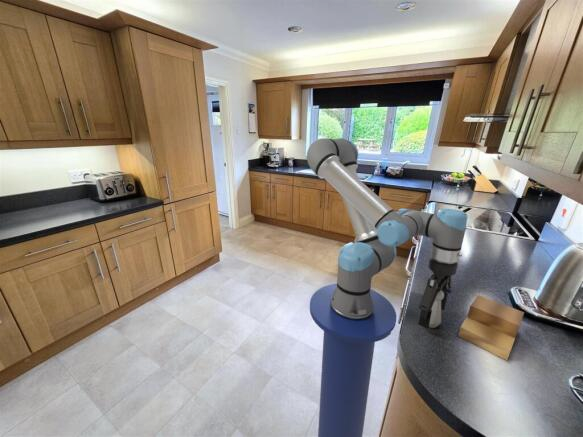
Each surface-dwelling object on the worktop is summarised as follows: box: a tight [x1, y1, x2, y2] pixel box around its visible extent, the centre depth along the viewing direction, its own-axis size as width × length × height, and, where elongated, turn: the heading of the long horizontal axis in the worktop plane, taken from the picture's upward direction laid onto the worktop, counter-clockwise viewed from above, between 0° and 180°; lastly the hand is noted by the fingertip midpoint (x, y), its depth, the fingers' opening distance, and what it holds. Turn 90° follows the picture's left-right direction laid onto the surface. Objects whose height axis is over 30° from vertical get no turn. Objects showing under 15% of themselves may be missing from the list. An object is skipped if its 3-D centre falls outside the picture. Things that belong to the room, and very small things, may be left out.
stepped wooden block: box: [457, 294, 525, 361], centre depth 76 cm, size 12×16×8 cm
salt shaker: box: [429, 290, 444, 329], centre depth 80 cm, size 6×6×13 cm
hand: (432, 316), depth 81 cm, fingers open, 13 cm apart
